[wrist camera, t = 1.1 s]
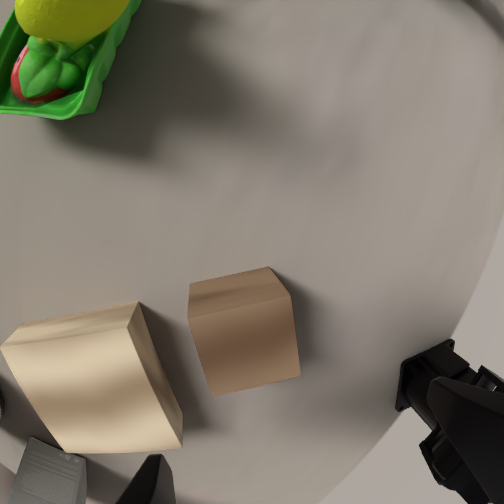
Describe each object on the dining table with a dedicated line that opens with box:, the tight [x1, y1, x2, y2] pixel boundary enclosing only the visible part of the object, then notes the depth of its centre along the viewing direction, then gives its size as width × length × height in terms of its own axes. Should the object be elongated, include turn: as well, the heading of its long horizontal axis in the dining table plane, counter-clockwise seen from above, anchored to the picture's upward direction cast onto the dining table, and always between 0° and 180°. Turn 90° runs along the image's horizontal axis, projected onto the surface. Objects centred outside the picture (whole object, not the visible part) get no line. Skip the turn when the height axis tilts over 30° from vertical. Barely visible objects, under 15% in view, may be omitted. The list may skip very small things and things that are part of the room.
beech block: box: [0, 301, 183, 453], centre depth 18 cm, size 10×10×4 cm
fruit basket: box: [0, 0, 142, 120], centre depth 9 cm, size 11×9×11 cm
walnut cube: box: [188, 267, 301, 397], centre depth 17 cm, size 5×5×5 cm
